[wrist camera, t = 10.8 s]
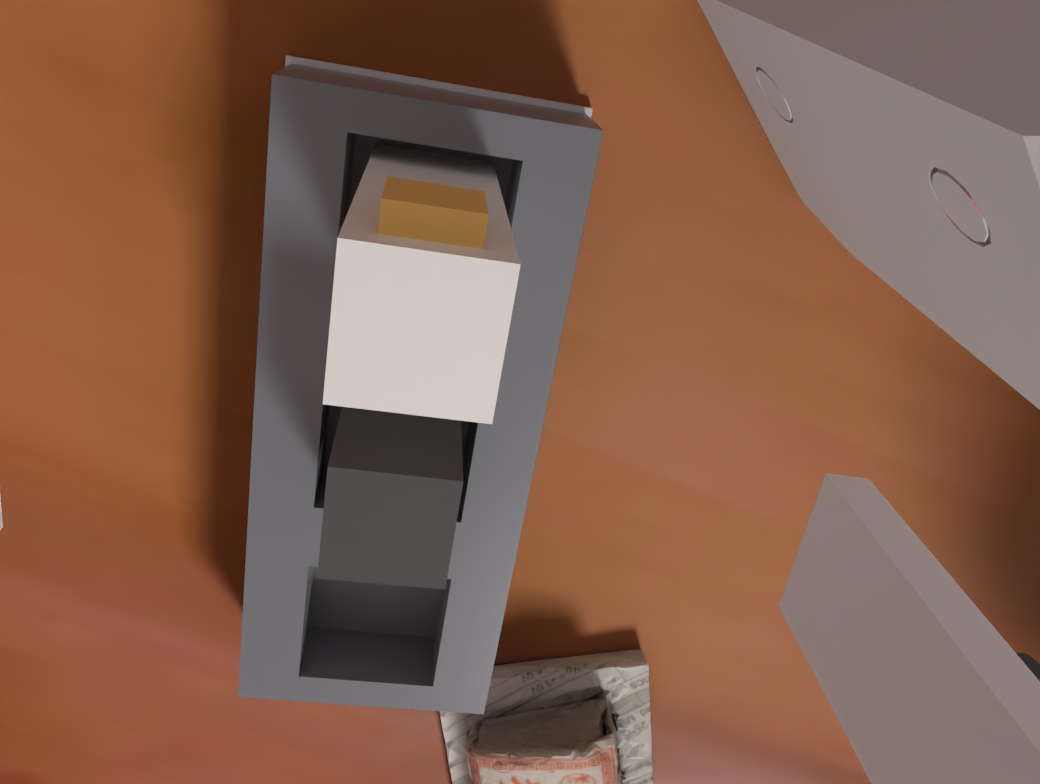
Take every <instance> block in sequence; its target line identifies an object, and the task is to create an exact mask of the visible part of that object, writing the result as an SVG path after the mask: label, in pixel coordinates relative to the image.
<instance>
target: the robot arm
mask: <svg viewBox="0 0 1040 784" xmlns="http://www.w3.org/2000/svg"><path fill="white" fill-rule="evenodd" d="M2 528H3V523H2V509H1V496H0V530H1V529H2ZM779 608H780V610H781V612H782V614H783V616H784V618H785V620H786V622H787V624H788V625H789V627H790V629H791V631H792V633H793V635H794V637H795V639H796V641H797V643H798V645H799V646H800V648H801V650H802V652H803V654H804V656H805V658H806V660H807V662H808V664H809V666H810V667H811V669H812V671H813V673H814V675H815V677H816V679H817V681H818V683H819V685H820V687H821V689H822V690H823V692H824V694H825V696H826V698H827V700H828V702H829V704H830V706H831V708H832V710H833V711H834V713H835V715H836V717H837V719H838V721H839V723H840V725H841V727H842V729H843V731H844V732H845V734H846V736H847V738H848V740H849V742H850V744H851V746H852V748H853V750H854V752H855V753H856V755H857V757H858V759H859V761H860V763H861V765H862V767H863V769H864V771H865V773H866V774H867V776H868V778H869V780H870V782H871V784H1040V664H1039V663H1038V662H1037V661H1035V660H1034V659H1033V658H1031V657H1030V656H1029V655H1028V654H1025V653H1015V651H1014V650H1013V649H1012V648H1011V647H1010V645H1009V644H1008V643H1007V642H1006V641H1005V640H1004V638H1003V637H1002V636H1001V635H1000V634H999V632H998V631H997V630H996V629H995V628H994V627H993V625H992V624H991V623H990V622H989V621H988V619H987V618H986V617H985V616H984V615H983V614H982V612H981V611H980V610H979V609H978V608H977V606H976V605H975V604H974V603H973V602H972V600H971V599H970V598H969V597H968V596H967V595H966V593H965V592H964V591H963V590H962V589H961V587H960V586H959V585H958V584H957V583H956V582H955V580H954V579H953V578H952V577H951V576H950V574H949V573H948V572H947V571H946V570H945V569H944V567H943V566H942V565H941V564H940V563H939V561H938V560H937V559H936V558H935V557H934V555H933V554H932V553H931V552H930V551H929V550H928V548H927V547H926V546H925V545H924V544H923V542H922V541H921V540H920V539H919V538H918V537H917V535H916V534H915V533H914V532H913V531H912V529H911V528H910V527H909V526H908V525H907V524H906V522H905V521H904V520H903V519H902V518H901V516H900V515H899V514H898V513H897V512H896V510H895V509H894V508H893V507H892V506H891V505H890V503H889V502H888V501H887V500H886V499H885V497H884V496H883V495H882V494H881V493H880V492H879V490H878V489H877V488H876V487H875V486H874V484H873V483H872V482H871V481H870V480H869V479H868V478H860V477H852V476H844V475H836V474H828V473H826V474H825V477H824V479H823V482H822V485H821V488H820V491H819V494H818V496H817V499H816V502H815V505H814V508H813V510H812V513H811V516H810V519H809V522H808V524H807V527H806V530H805V533H804V536H803V539H802V541H801V544H800V547H799V550H798V553H797V555H796V558H795V561H794V564H793V567H792V569H791V572H790V575H789V578H788V581H787V584H786V586H785V589H784V592H783V595H782V598H781V600H780V603H779Z"/></svg>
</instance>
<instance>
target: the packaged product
mask: <svg viewBox="0 0 1040 784" xmlns="http://www.w3.org/2000/svg"><path fill="white" fill-rule="evenodd" d="M650 713H651V711H650V691H649V665H648V662H647V660H646V658H645V656H644V655H643V653H642V651H641V650H625V651H616V652H607V653H599V654H590V655H581V656H573V657H565V658H555V659H545V660H536V661H528V662H520V663H512V664H504V665H496V666H494V667H493V672H492V677H491V682H490V686H489V691H488V696H487V701H486V706H485V711H484V714H472V713H458V712H444V711H440V718H441V723H442V729H443V734H444V739H445V745H446V751H447V757H448V763H449V768H450V774H451V779H452V784H653V772H652V754H651V719H650Z"/></svg>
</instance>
